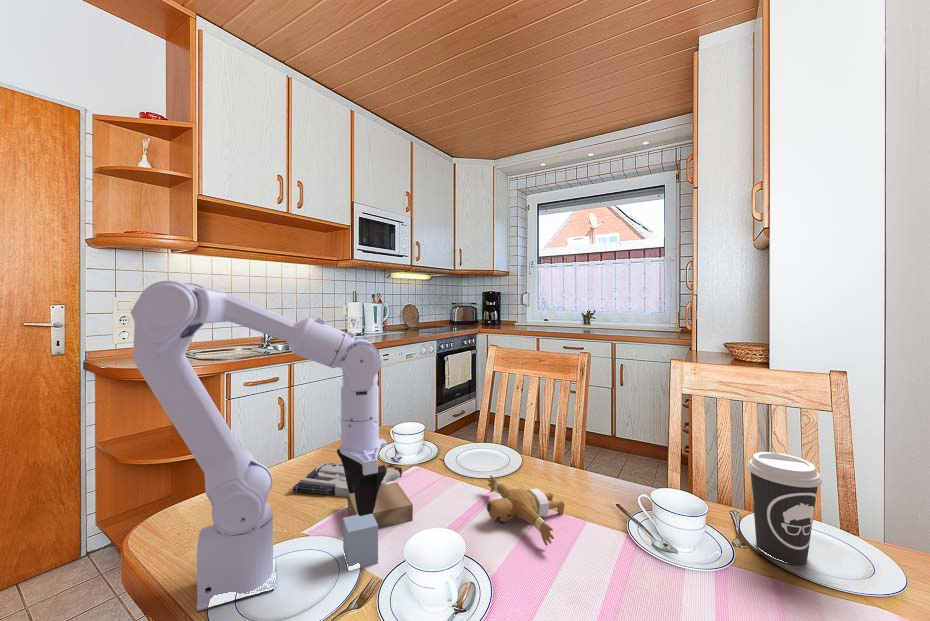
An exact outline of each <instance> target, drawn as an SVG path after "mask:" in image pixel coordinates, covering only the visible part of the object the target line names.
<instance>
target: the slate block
mask: <svg viewBox="0 0 930 621" xmlns="http://www.w3.org/2000/svg"><path fill="white" fill-rule="evenodd" d="M342 527H343V528H342V530H343V531H342V536H343V537H342V538H343V540H342V541H343V542H342V543H343V544H342V546H343V547H342V549H343V550H344V553H345V557H346V561H347V564H348V567H349V566H353V565H355V564H357V563H359V564H360V566H361V568H360V569H363V568H366V567H370V566H373V565H377V564H378V563H379V529H378V524H377V522H376V520H375V518H374V516H373V514H368V515H364V516H359V514H358V515H354V516H351V515H350V516H346V517H343V518H342ZM343 550H342V551H343Z"/></svg>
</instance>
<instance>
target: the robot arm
mask: <svg viewBox="0 0 930 621" xmlns="http://www.w3.org/2000/svg"><path fill="white" fill-rule="evenodd" d="M130 314H131V317H132V319H133V322H134V331H133V333H134V334H133V349H132V360H133V361H134V365H135V367H136V368H137V369H138V371H139V372H140V374H141V376H142V377H143V379H144V381H145V382H146V383H147V385H148V387H149V388H150V389H151V391H152V394H153V395H154V396H155V397H156V398H155V399H157V401H158V403H159V404H160V405H161V408H163V410H164V412H165V413H166V415H167V417H168V418H169V420H170V421H171V423H172V424H173V426H174V428H175V430H176V431H177V432H178V434H179V436H180V437H181V439H182V440H183V442H184V444H185V445H186V447H187V448H188V450H189V451H190V453H191V454H192V456H193V458H194V460H195V461H196V462H197V464H198V466H199V467H200V469H201V470H202V472H203V474H204V488H205V496H206V497H207V499H208V500H209V502H210V504H211V518H212V522H213V524H211V525H207V526H205V527H202V528H200V530H199V533H198V534H199V535H198V539H197V547H196V548H197V550H196V579H195V580H196V594H197V596H196V597H197V600H196V610H197V611H199V612H200V611H203V610H206V609H208V608H207V607H208V603H209V601H210V599H211V598H212V597H213V596H214V595H218V594H223V593H228V592H236V593H239V594H241V593H244V594H249V593H250V591H253V590H254V591H255V589H256V588H257V589H258V587H259V590H257V589H256V591H257V592H258V591H262V590H265V589H269V588H270V587H271V588H272V587H273V588H274V587H275V586H276V585H275V584H276V581H277V579H276V580H275V578H274V580H275V583H274V580H273V582H272V580H271V582H270V580H269V582H267V580H268V579H269V578H271V575H272V573H273V555H274V524H273V523H274V519H273V518H274V514H273V513H274V512H273V509H272V507H271V506H270V504H269V503H268V498H269V494H270V491H271V489H272V487H273V481H274V478H273V474H272V472H271V471H270V469H269V468H268V467H267V466H265V465H264V464H262V463H260V462H259V461H257V460H256V459H255V457H254V455H253V453H251V452H249V451H248V450H246V449H245V448H242V446H241V445H240V443H239V442H238V440H237V439H236V437H235V435H234V433H233V432H232V431H231V428H230V427H229V425H228V423H227V422H226V421H225V418H224V417H223V416H222V414H221V412H220V411H219V409H218V407H217V405H216V404H215V402H214V401H213V399H212V397H211V396H210V394H209V391H207V389H206V387H205V386H204V384H203V382H202V381H201V380H200V378H199V376H198V374H197V373H196V371H195V370H194V369H195V368H194V367H193V366H192V364H191V363H190V361H189V359H188V357H187V356H186V353H187V351H188V349H189V347H190V344H191V342H192V341H193V338H194V336H195V334H196V333H197V331H199V330H200V329H201V328H202V327H203V326H204V325H205V324H213V323H214V324H215V323H225V322H227V323H232V324H236V325H239V326H242V327H245V328H248V329H250V330H253V331H256V332H259V333H261V334H264V335H268V336H270V337H273V338H276V339H279V340H282V341H285V342H286V343H287V344H288V346H289V348H290V351H291V353H292V354H294V355H296V356H299V357H302V358H305V359H307V360H310V361H313V362H315V363H318V364H320V365H323V366H325V367H329V368H332V369H336V368H340V369H341V371H342V386H341V388H340V445H339V448H338V449H336V453H337V455H338V457H339V459H340V460H341V463H342V464H341V465H343V467H344V471H345V477H346V482H347V487H348V490H349V493H350V494H351V493H354V495H355V501H356V507H357V511H358V514H359V516H364V515H368V514H372V513H373V511H374V507H375V503H376V498H377V494H378V490H379V487H380V485H381V482H382V480H383V478H384V477H385V475H386V472H387V468H386V467H387V466H385V464H382V465H379V463H378V462H379V460H378V456H379V452H380V450H381V448H385V447H387V441H386V439H384V438H380V435H379V434H380V431H379V430H380V426H379V424H380V423H379V418H380V417H379V415H380V414H379V413H380V412H379V411H380V406H379V404H380V403H379V402H380V401H379V399H380V398H379V397H380V396H379V391H380V388H379V385H378V381H379V375H378V372H380V369H381V367H382V361H383V360H382V358H381V354H380V352H379V350H378V349H377V347H376V346H375V345H374V344H373V343H372V342H370V341H369V340H367V339H366V338H364V337H361V336H357V335H356V332H353V331H351V330H350V331H348V332H345V331H343V330H340V329H338V328H336V327H333V326H331V325H329V324H326V323H327V320H326V319H323V318H321V317H317V319H314V318H311V317H308V318H305V319H301V320H299V321H296V320H292V319H291V318H288V317H285V316H284V315H281V314H278V313H276V312H274V311H272V310H270V309H267V308H266V307H263V306H260V305H258V304H256V303H254V302H252V301H249V300H247V299H244V298H242V297H240V296H238V295H235V294H232V293H228V292H225V291H221V290H217V289H213V288H206V287H204V286H202V285H201V284H197V283H194V282H193V283H192V282H191V283H190V282H189V283H188V282H187V283H185V282H184V283H183V282H178V281H175V280H161V281H157V282H154V283H152V284H150V285H148V286H147V287H146V288H145V289H144V290H143V291H142V292H141V294H140V295H139V297H138V299H137V301H136V302H135V303H134V305H133V307H132V308H131V310H130ZM274 573H275V572H274ZM274 576H275V575H274ZM272 579H273V578H272ZM266 582H267V584H268V583H269V584H270V585H271V584H272V585H271V586H270V587H269V588H267V585H266V587H265V585H264V587H263V584H264V583H266ZM269 584H268V585H269ZM273 584H274V585H273ZM260 586H262V587H263V588H262V587H261V589H260ZM247 592H248V593H247ZM251 593H252V592H251ZM253 593H254V592H253Z"/></svg>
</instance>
